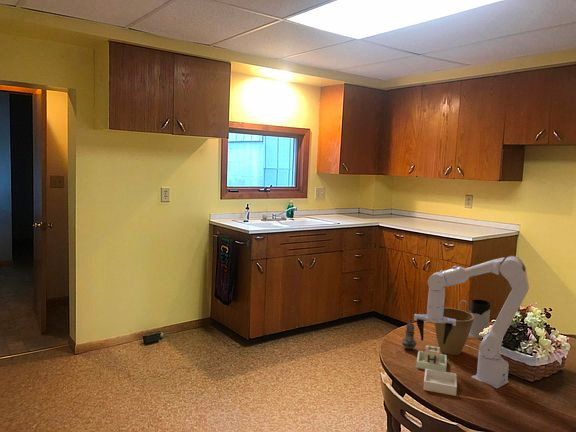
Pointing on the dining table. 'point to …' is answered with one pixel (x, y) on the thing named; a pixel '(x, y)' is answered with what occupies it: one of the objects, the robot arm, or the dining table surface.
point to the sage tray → (432, 366)
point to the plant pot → (454, 331)
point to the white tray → (440, 382)
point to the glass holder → (479, 316)
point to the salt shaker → (409, 337)
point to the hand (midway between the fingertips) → (433, 341)
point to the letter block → (432, 354)
